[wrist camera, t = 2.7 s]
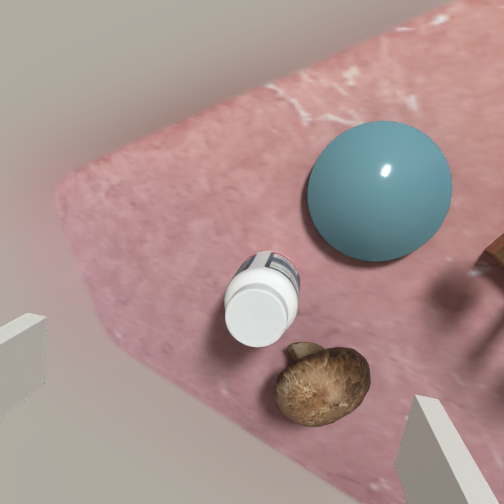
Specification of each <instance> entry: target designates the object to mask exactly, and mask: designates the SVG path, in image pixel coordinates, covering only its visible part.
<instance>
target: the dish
mask: <svg viewBox="0 0 504 504" xmlns="http://www.w3.org/2000/svg"><path fill="white" fill-rule="evenodd" d="M307 193H308V206H309V211H310V215H311V218H312V220H313V223H314V225H315V227H316V228H317V230H318V232H319V233H320V235H321V236H322V237H323V238H324V239H325V241H327V242H328V243H329V244H330V245H331V246H332V247H333V248H335V249H336V250H338V251H339V252H341V253H343V254H345V255H347V256H350V257H352V258H355V259H359V260H364V261H387V260H392V259H396V258H400V257H402V256H405V255H407V254H409V253H411V252H413V251H415V250H417V249H418V248H419V247H421V246H422V245H424V244H425V243H426V242H427V241H428V240H429V239H430V238H431V237H432V236H433V235H434V234H435V233H436V231H437V230H438V229H439V227H440V226H441V224H442V223H443V221H444V219H445V216H446V214H447V212H448V209H449V206H450V201H451V196H452V179H451V173H450V169H449V166H448V163H447V161H446V158H445V157H444V155H443V153H442V151H441V150H440V149H439V147H438V146H437V145H436V144H435V142H434V141H432V140H431V139H430V138H429V137H428V136H427V135H425V134H424V133H423V132H421V131H420V130H418V129H416V128H414V127H412V126H409V125H406V124H403V123H398V122H392V121H376V122H370V123H365V124H362V125H359V126H356V127H353V128H351V129H349V130H347V131H345V132H344V133H342V134H341V135H339V136H338V137H337V138H335V139H334V140H333V141H332V142H331V143H330V144H329V145H328V146H327V147H326V148H325V149H324V150H323V152H322V153H321V155H320V156H319V157H318V159H317V161H316V163H315V165H314V167H313V170H312V172H311V175H310V179H309V183H308V192H307Z"/></svg>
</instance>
